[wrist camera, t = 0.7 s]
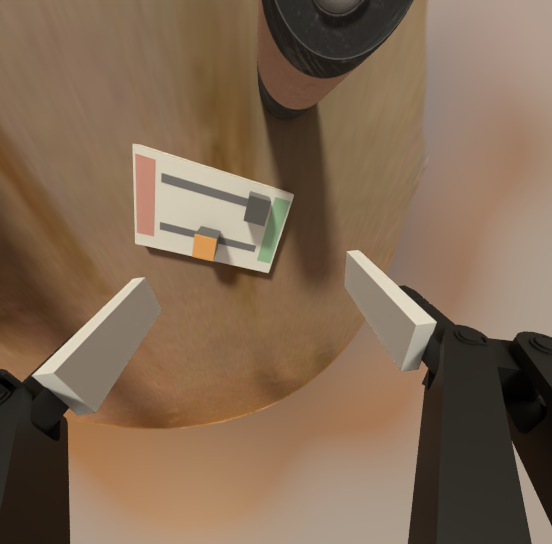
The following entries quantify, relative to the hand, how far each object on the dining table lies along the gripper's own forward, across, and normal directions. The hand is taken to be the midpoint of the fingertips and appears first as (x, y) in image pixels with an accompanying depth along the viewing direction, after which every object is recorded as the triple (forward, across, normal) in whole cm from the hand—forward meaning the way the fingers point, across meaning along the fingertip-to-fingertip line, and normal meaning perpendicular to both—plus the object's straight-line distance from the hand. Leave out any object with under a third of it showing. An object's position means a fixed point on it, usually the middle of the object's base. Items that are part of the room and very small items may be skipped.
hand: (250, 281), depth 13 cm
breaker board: (+22, -7, 0) cm, 23 cm away
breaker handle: (+20, -8, -3) cm, 22 cm away
